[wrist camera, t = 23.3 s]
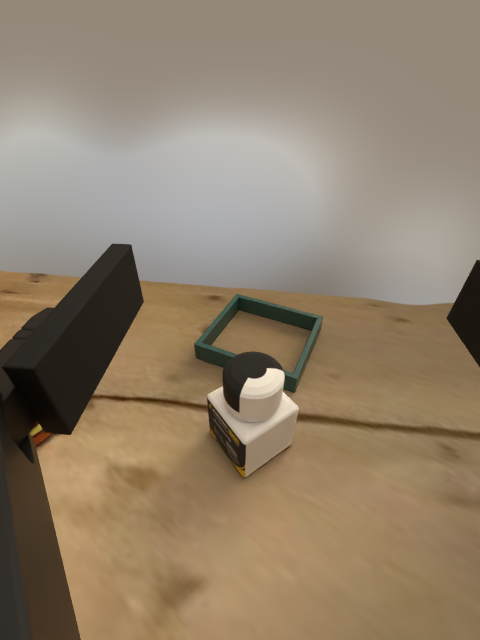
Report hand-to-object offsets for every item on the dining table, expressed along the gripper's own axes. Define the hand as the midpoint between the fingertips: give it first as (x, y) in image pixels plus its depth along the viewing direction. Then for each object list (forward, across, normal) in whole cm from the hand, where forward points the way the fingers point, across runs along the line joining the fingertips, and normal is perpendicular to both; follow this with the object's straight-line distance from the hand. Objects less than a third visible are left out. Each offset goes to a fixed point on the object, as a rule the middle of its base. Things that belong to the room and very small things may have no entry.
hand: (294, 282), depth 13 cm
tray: (+27, -1, -28) cm, 39 cm away
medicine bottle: (+10, -2, -28) cm, 30 cm away
